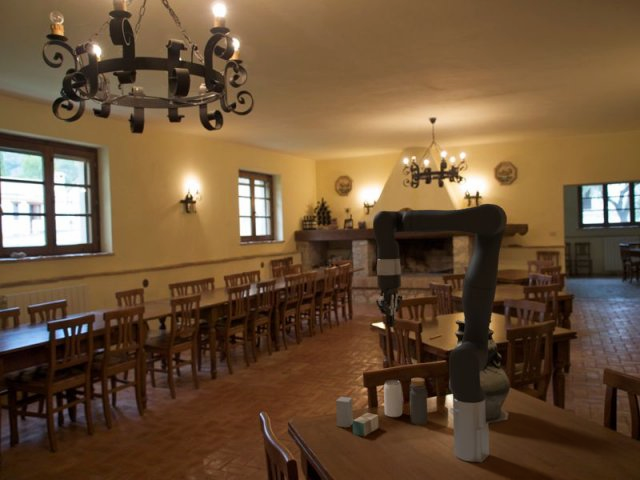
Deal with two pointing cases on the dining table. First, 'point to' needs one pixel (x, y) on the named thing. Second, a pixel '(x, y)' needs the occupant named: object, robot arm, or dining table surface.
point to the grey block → (344, 412)
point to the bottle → (418, 402)
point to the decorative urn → (490, 379)
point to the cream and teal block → (365, 424)
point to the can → (393, 398)
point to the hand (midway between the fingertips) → (390, 326)
